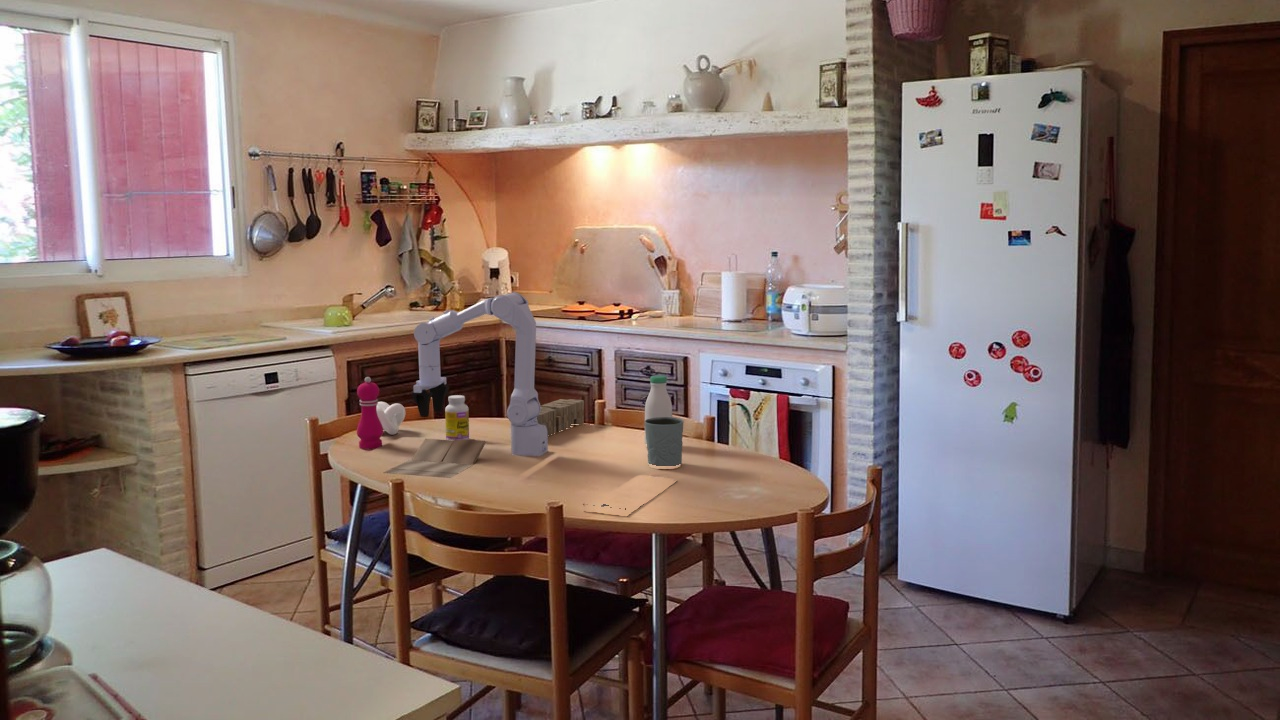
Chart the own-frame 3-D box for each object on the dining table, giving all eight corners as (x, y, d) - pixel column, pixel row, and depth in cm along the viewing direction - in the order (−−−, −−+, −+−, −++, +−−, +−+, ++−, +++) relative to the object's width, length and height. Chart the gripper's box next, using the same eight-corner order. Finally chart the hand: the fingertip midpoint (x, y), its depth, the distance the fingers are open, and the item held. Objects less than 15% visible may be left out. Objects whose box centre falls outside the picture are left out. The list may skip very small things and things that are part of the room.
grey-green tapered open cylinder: (680, 471, 262) (680, 425, 260) (641, 469, 264) (640, 423, 262) (686, 461, 272) (686, 417, 270) (648, 460, 274) (648, 415, 272)
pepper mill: (387, 444, 293) (384, 374, 290) (378, 450, 286) (375, 379, 283) (362, 443, 294) (359, 374, 291) (353, 449, 287) (350, 378, 284)
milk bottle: (672, 449, 285) (672, 378, 282) (644, 449, 285) (644, 378, 282) (672, 443, 292) (672, 374, 289) (645, 443, 293) (644, 374, 290)
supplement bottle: (457, 444, 293) (455, 399, 291) (441, 440, 297) (439, 397, 295) (474, 439, 298) (473, 396, 296) (458, 436, 302) (457, 393, 300)
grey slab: (473, 468, 265) (473, 464, 265) (450, 481, 253) (450, 477, 253) (409, 463, 271) (408, 460, 270) (383, 476, 258) (383, 472, 258)
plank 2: (485, 443, 273) (484, 440, 272) (472, 467, 266) (471, 464, 266) (456, 441, 275) (455, 438, 275) (443, 465, 269) (442, 462, 268)
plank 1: (454, 443, 276) (454, 440, 275) (441, 465, 269) (440, 462, 268) (426, 441, 278) (425, 438, 278) (412, 462, 271) (411, 460, 271)
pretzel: (355, 436, 304) (354, 406, 302) (377, 427, 315) (376, 398, 314) (389, 438, 300) (388, 408, 299) (410, 429, 312) (409, 400, 310)
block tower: (563, 424, 323) (509, 440, 297) (563, 398, 322) (509, 412, 296) (584, 427, 319) (532, 443, 294) (584, 400, 318) (532, 414, 293)
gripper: (430, 361, 291) (431, 408, 293) (402, 368, 277) (404, 418, 279) (452, 362, 289) (453, 409, 291) (426, 370, 275) (427, 419, 277)
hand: (431, 414), depth 285 cm, fingers open, 7 cm apart
